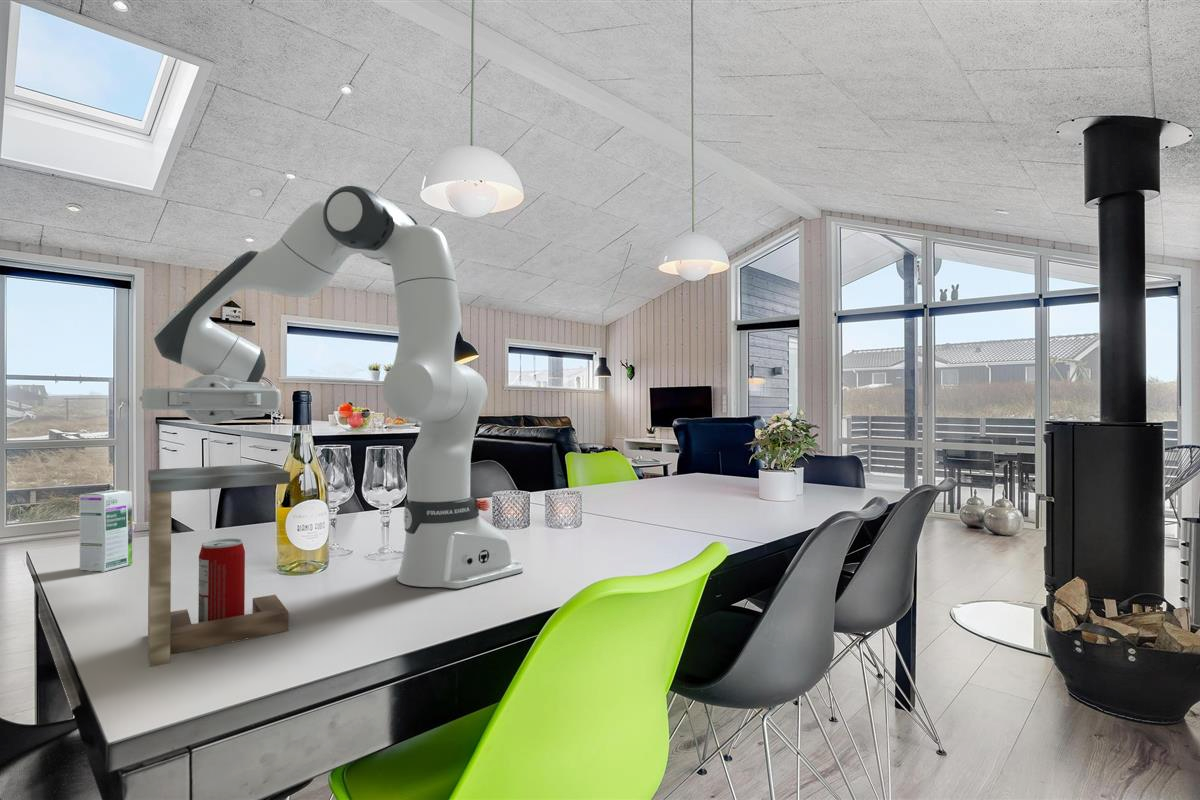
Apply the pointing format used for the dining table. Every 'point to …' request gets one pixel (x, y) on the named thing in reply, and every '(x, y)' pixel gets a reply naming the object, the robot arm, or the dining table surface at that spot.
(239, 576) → the soda can
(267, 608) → the socket
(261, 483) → the wooden c-frame stand
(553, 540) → the dining table surface
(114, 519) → the syrup box
